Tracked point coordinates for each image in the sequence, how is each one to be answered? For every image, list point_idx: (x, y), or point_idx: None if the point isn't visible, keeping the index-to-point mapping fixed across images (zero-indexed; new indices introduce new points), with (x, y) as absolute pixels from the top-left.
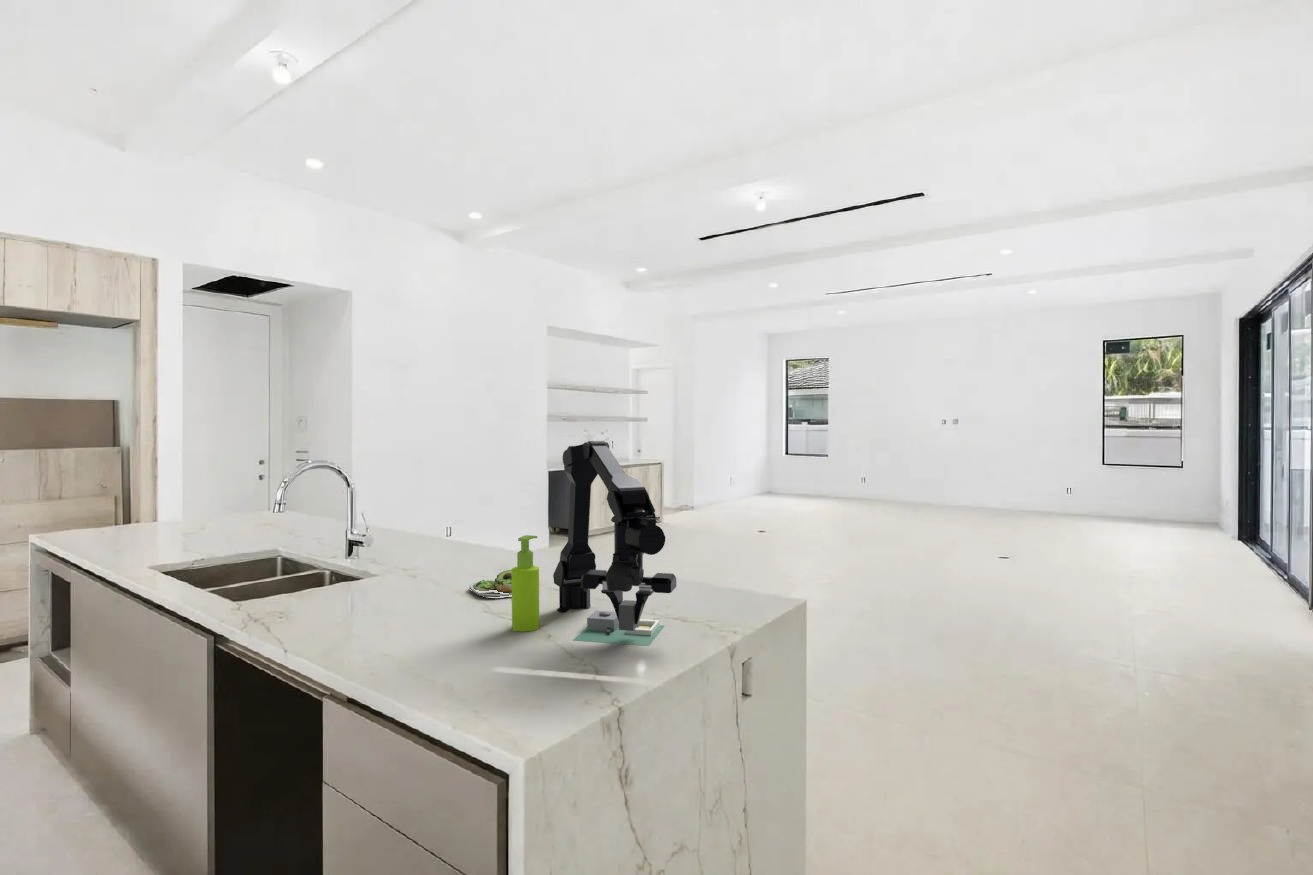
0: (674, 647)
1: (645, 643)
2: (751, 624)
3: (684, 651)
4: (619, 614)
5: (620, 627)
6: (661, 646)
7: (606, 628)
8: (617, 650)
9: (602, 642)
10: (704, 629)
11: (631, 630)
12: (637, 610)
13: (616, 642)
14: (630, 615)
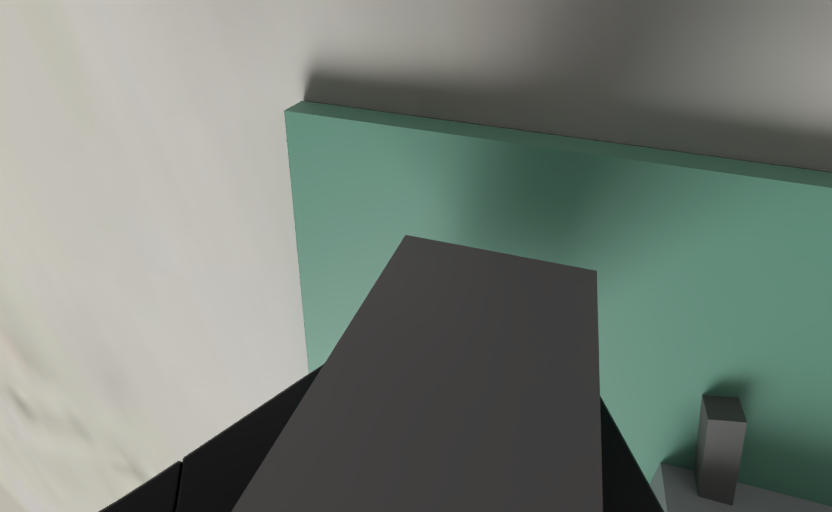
0: (153, 177)
1: (333, 173)
2: (24, 475)
3: (56, 92)
4: (588, 431)
5: (574, 283)
6: (242, 194)
7: (739, 500)
8: (603, 45)
9: (805, 181)
10: (150, 452)
11: (428, 240)
12: (249, 460)
13: (623, 187)
14: (376, 374)
